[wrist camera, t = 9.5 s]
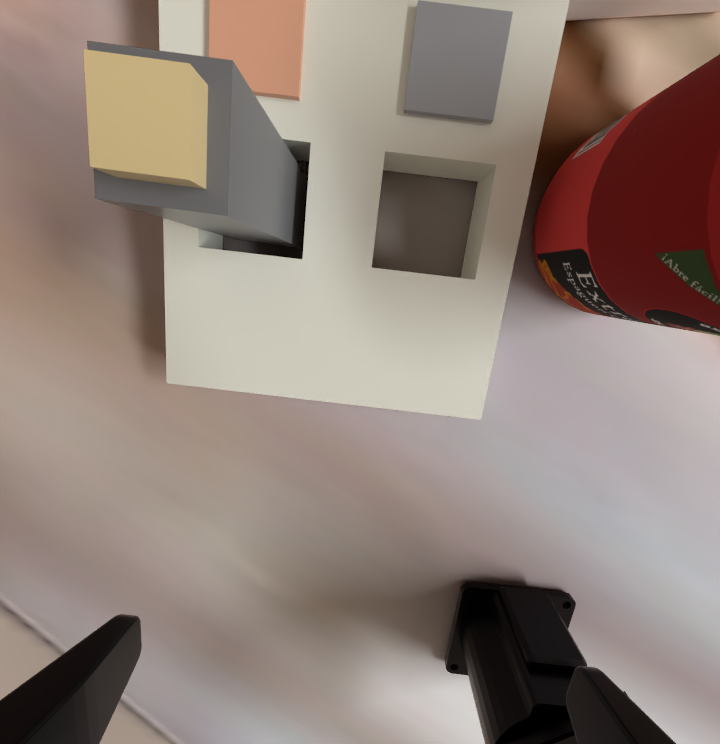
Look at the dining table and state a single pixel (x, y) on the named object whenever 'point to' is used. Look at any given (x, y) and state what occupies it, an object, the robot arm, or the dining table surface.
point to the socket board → (365, 196)
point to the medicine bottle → (636, 8)
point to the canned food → (642, 213)
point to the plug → (189, 144)
